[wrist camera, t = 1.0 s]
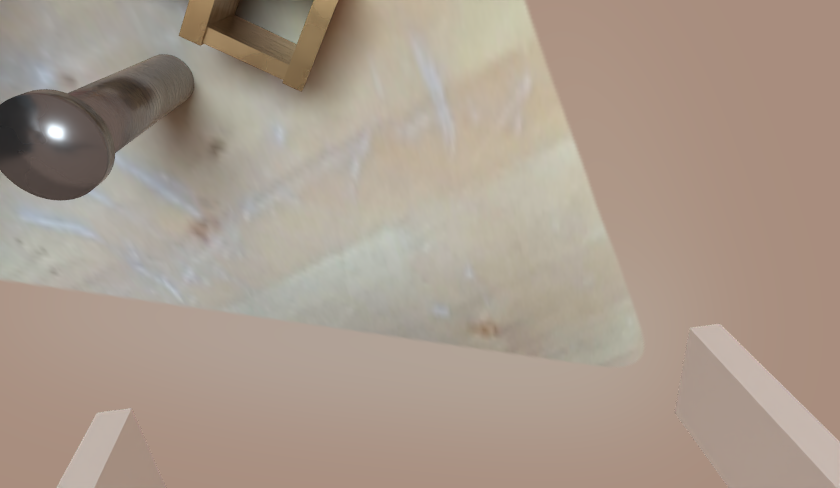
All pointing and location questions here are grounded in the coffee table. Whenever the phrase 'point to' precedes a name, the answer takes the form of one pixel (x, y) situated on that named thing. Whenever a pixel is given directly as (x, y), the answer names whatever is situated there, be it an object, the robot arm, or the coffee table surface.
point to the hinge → (258, 38)
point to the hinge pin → (85, 126)
